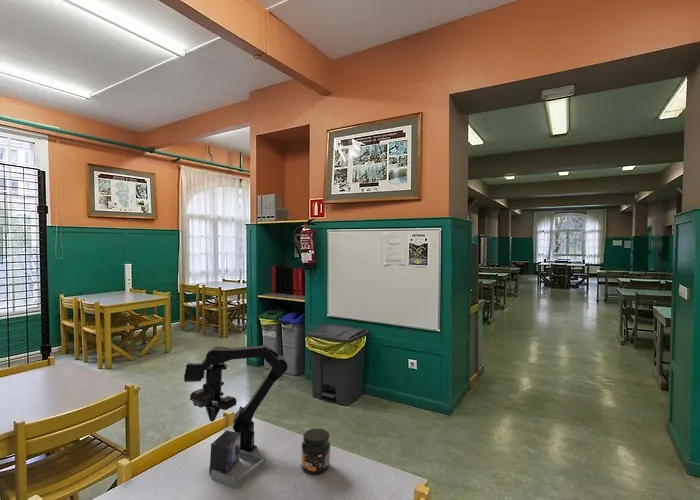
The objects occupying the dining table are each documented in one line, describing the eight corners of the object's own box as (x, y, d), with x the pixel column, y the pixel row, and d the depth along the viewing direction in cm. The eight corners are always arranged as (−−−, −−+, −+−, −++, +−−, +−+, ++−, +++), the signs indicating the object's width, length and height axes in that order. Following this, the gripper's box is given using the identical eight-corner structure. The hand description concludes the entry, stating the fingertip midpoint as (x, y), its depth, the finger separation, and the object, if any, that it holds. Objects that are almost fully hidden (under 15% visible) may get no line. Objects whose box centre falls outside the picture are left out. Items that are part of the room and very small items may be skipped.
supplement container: (294, 468, 130) (295, 435, 130) (314, 455, 139) (315, 424, 139) (316, 480, 124) (317, 445, 124) (335, 466, 132) (336, 433, 132)
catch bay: (241, 456, 136) (241, 449, 136) (265, 465, 132) (266, 458, 132) (210, 478, 123) (211, 470, 123) (236, 488, 118) (237, 481, 118)
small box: (225, 477, 124) (226, 446, 124) (208, 474, 125) (209, 444, 125) (240, 460, 134) (241, 432, 134) (224, 457, 135) (225, 429, 135)
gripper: (178, 382, 135) (177, 424, 135) (215, 392, 127) (214, 436, 127) (202, 373, 145) (200, 412, 145) (238, 382, 137) (236, 423, 137)
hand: (212, 421), depth 138 cm, fingers closed
